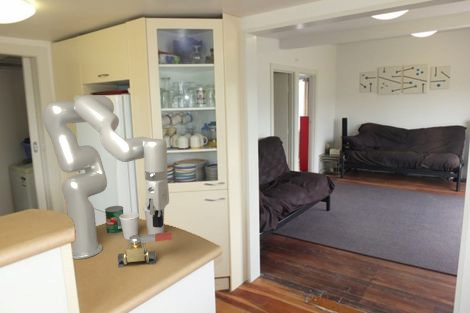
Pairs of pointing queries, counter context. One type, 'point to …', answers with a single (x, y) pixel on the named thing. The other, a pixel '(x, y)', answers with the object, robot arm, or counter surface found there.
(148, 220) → the coffee cup
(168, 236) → the lever
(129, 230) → the dixie cup
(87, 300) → the counter surface
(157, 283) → the counter surface
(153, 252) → the valve body
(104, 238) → the counter surface
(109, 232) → the canned tomato
